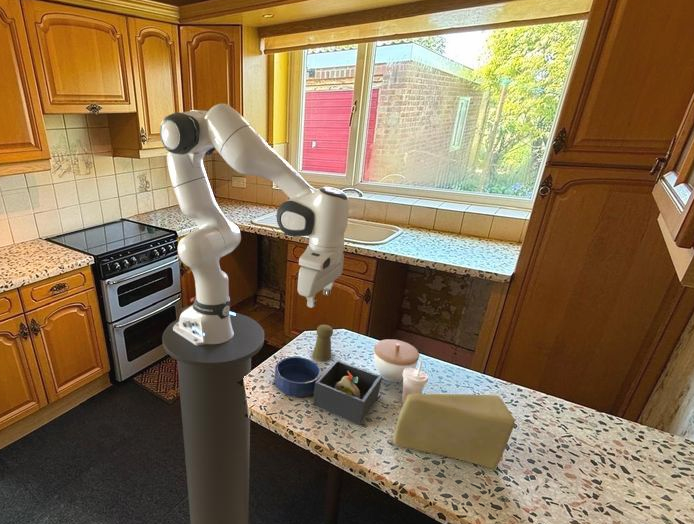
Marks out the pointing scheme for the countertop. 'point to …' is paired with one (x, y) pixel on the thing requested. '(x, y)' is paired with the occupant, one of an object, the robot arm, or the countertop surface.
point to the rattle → (348, 385)
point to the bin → (342, 401)
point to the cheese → (455, 426)
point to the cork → (323, 343)
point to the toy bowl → (297, 376)
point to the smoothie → (413, 381)
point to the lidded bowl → (394, 358)
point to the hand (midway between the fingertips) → (318, 300)
